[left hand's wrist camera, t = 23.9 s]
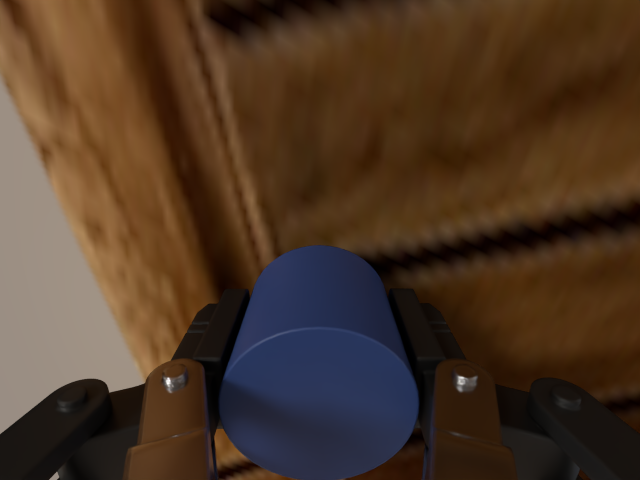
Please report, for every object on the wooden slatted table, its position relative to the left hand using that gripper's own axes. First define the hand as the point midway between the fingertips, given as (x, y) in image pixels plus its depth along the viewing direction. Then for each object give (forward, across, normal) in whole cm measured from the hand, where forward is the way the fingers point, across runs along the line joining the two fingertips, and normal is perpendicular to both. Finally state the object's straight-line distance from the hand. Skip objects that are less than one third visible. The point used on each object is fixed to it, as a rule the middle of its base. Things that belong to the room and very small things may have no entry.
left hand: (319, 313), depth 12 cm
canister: (0, 0, 0) cm, 0 cm away
